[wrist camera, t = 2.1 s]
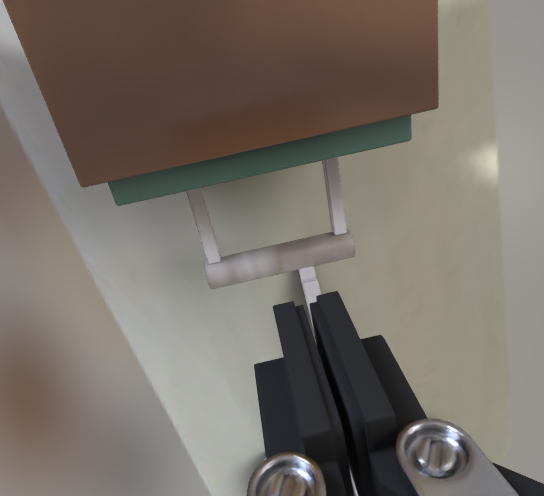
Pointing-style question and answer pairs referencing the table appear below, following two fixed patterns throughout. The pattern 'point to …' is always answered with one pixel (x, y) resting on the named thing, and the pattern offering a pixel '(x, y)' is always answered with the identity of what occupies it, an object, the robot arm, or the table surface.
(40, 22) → the cabinet
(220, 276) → the drawer
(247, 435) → the table surface
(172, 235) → the table surface
